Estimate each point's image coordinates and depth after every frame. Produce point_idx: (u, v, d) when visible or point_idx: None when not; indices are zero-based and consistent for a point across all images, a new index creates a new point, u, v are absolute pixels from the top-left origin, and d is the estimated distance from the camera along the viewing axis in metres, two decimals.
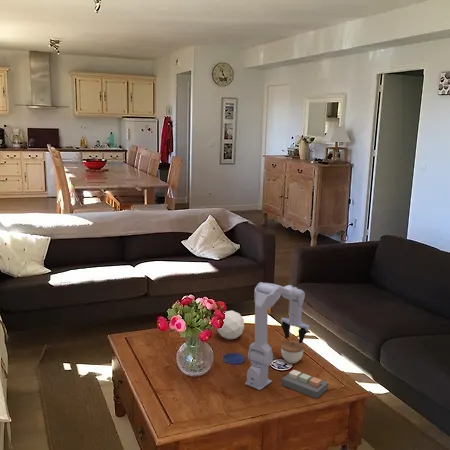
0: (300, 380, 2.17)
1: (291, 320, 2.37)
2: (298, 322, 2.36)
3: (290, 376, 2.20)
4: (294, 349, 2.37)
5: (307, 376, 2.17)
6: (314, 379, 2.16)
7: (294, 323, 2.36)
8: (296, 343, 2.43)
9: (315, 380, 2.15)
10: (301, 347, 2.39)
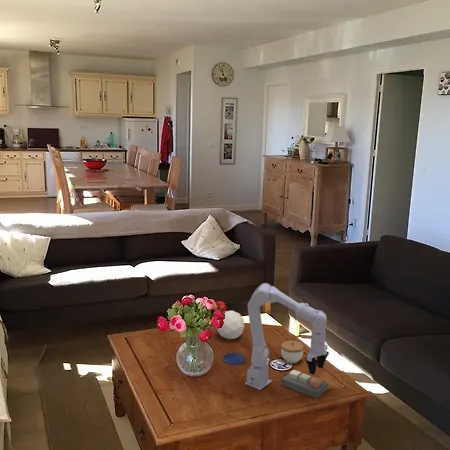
0: (300, 380, 2.17)
1: None
2: (312, 349, 2.10)
3: (290, 376, 2.20)
4: (294, 349, 2.37)
5: (307, 376, 2.17)
6: (314, 379, 2.16)
7: None
8: (296, 343, 2.43)
9: (315, 380, 2.15)
10: (301, 347, 2.39)
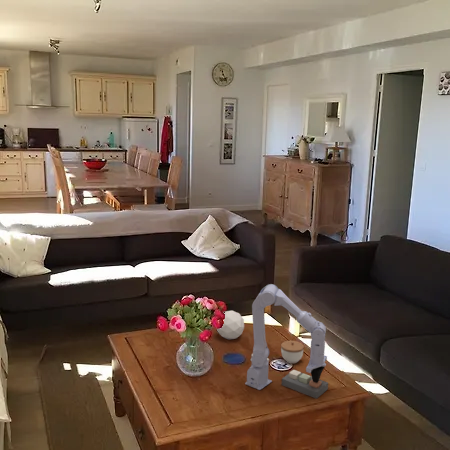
0: (300, 380, 2.17)
1: None
2: (311, 361, 2.12)
3: (290, 376, 2.20)
4: (294, 349, 2.37)
5: (307, 376, 2.17)
6: None
7: (310, 359, 2.13)
8: (296, 343, 2.43)
9: None
10: (301, 347, 2.39)
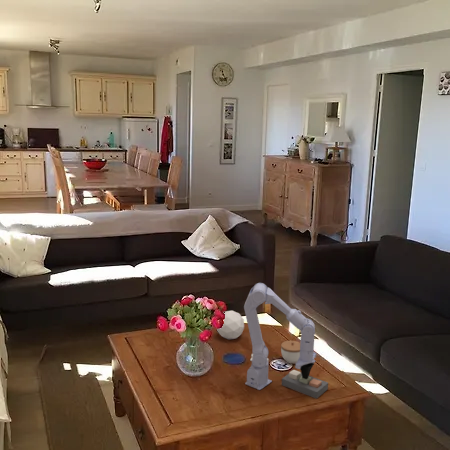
0: (300, 381, 2.18)
1: None
2: (301, 357, 2.15)
3: (290, 376, 2.20)
4: (294, 349, 2.37)
5: None
6: (314, 380, 2.16)
7: None
8: (296, 343, 2.43)
9: (315, 381, 2.15)
10: None
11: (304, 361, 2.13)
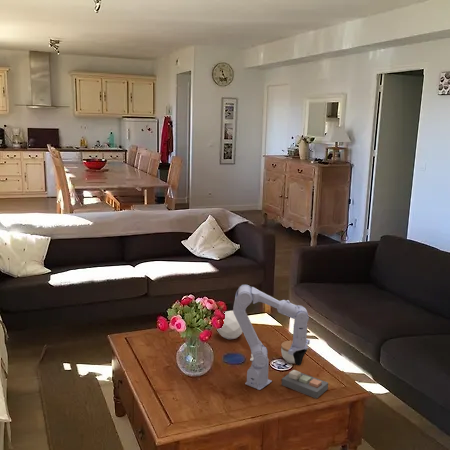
0: (300, 381, 2.18)
1: None
2: (294, 344, 2.16)
3: (290, 376, 2.20)
4: None
5: (306, 378, 2.18)
6: (314, 380, 2.16)
7: None
8: None
9: (315, 381, 2.15)
10: None
11: (297, 347, 2.14)
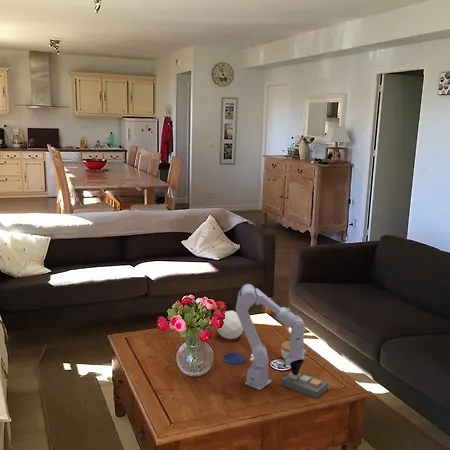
0: (300, 381, 2.18)
1: None
2: (290, 354, 2.18)
3: (290, 377, 2.21)
4: None
5: (306, 378, 2.18)
6: (314, 380, 2.16)
7: (289, 353, 2.20)
8: None
9: (315, 381, 2.15)
10: None
11: (294, 357, 2.16)
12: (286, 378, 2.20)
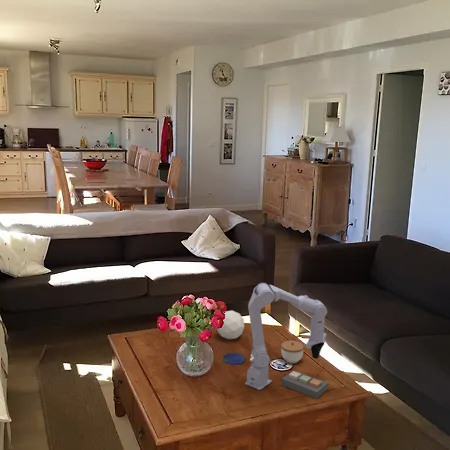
0: (300, 381, 2.18)
1: None
2: (311, 337, 2.20)
3: (290, 377, 2.21)
4: (294, 349, 2.37)
5: (306, 378, 2.18)
6: (314, 380, 2.16)
7: (310, 336, 2.22)
8: (296, 343, 2.43)
9: (315, 381, 2.15)
10: (301, 347, 2.39)
11: (315, 341, 2.19)
12: (286, 378, 2.20)
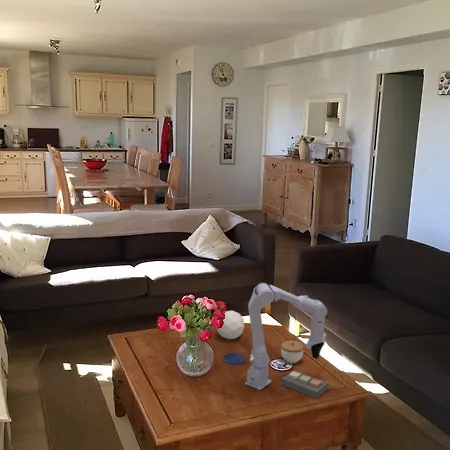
0: (300, 381, 2.18)
1: None
2: (311, 337, 2.20)
3: (290, 377, 2.21)
4: (294, 349, 2.37)
5: (306, 378, 2.18)
6: (314, 380, 2.16)
7: (310, 336, 2.22)
8: (296, 343, 2.43)
9: (315, 381, 2.15)
10: (301, 347, 2.39)
11: (315, 341, 2.19)
12: (286, 378, 2.20)
